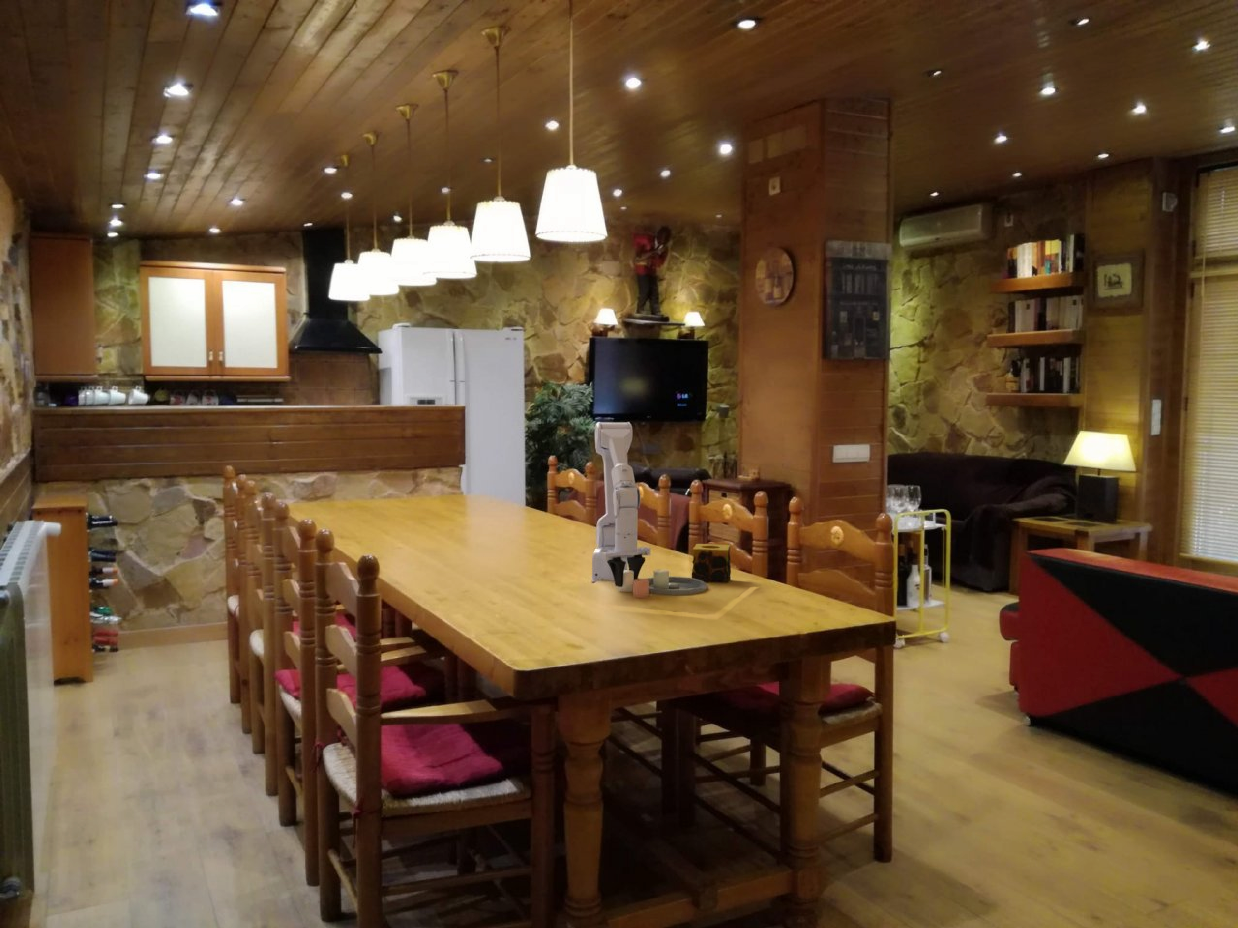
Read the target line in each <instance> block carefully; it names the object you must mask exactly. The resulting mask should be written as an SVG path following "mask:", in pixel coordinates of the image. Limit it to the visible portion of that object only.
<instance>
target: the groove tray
mask: <svg viewBox="0 0 1238 928" xmlns="http://www.w3.org/2000/svg"><path fill="white" fill-rule="evenodd" d="M653 578H654V577H647V578H645V579H646V580H649V594H654V595H655V594H656V595H664V596H685V595H686V596H688V595H695V594H700V593H703V592H704V591H706V590H707V588H708V584H707V582H704V581H702V580H698V579H694V578H692V577H684V576H669V589H659V588H653Z"/></svg>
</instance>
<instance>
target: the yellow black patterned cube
mask: <svg viewBox="0 0 1238 928" xmlns="http://www.w3.org/2000/svg"><path fill="white" fill-rule="evenodd" d="M692 557H693V558H692V561H691V563H692V570H691V578H694V579H698V580H702V581H704V582H705V583H722V584H728V583H729V582H730V581H731V580H732V579H731V578H732V577H731V575H732V574H731V573H732V569H731V545H730V544H720V543H719V544H714V543H712V544H710V543H696V544H695V545H694V547H693V548H692Z"/></svg>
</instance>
